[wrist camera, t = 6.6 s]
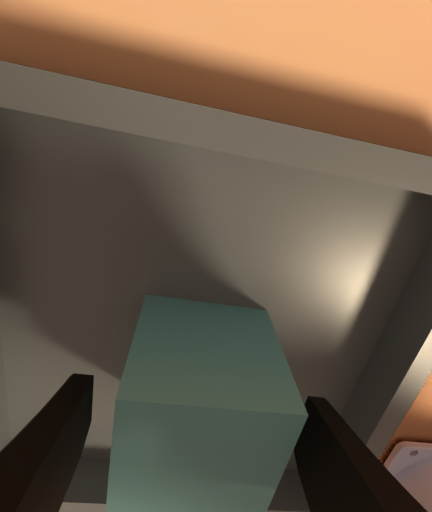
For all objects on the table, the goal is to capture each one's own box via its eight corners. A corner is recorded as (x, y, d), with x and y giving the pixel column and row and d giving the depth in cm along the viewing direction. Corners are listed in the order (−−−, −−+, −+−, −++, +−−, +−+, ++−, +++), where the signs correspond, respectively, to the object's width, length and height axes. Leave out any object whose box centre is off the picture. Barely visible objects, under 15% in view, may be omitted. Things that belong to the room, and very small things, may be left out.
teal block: (266, 310, 13) (308, 415, 8) (240, 397, 14) (261, 523, 10) (145, 294, 12) (115, 399, 7) (134, 387, 14) (105, 518, 9)
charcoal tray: (465, 169, 12) (546, 182, 9) (317, 465, 19) (338, 524, 16) (-39, 58, 9) (-137, 29, 7) (3, 446, 16) (-36, 511, 13)
